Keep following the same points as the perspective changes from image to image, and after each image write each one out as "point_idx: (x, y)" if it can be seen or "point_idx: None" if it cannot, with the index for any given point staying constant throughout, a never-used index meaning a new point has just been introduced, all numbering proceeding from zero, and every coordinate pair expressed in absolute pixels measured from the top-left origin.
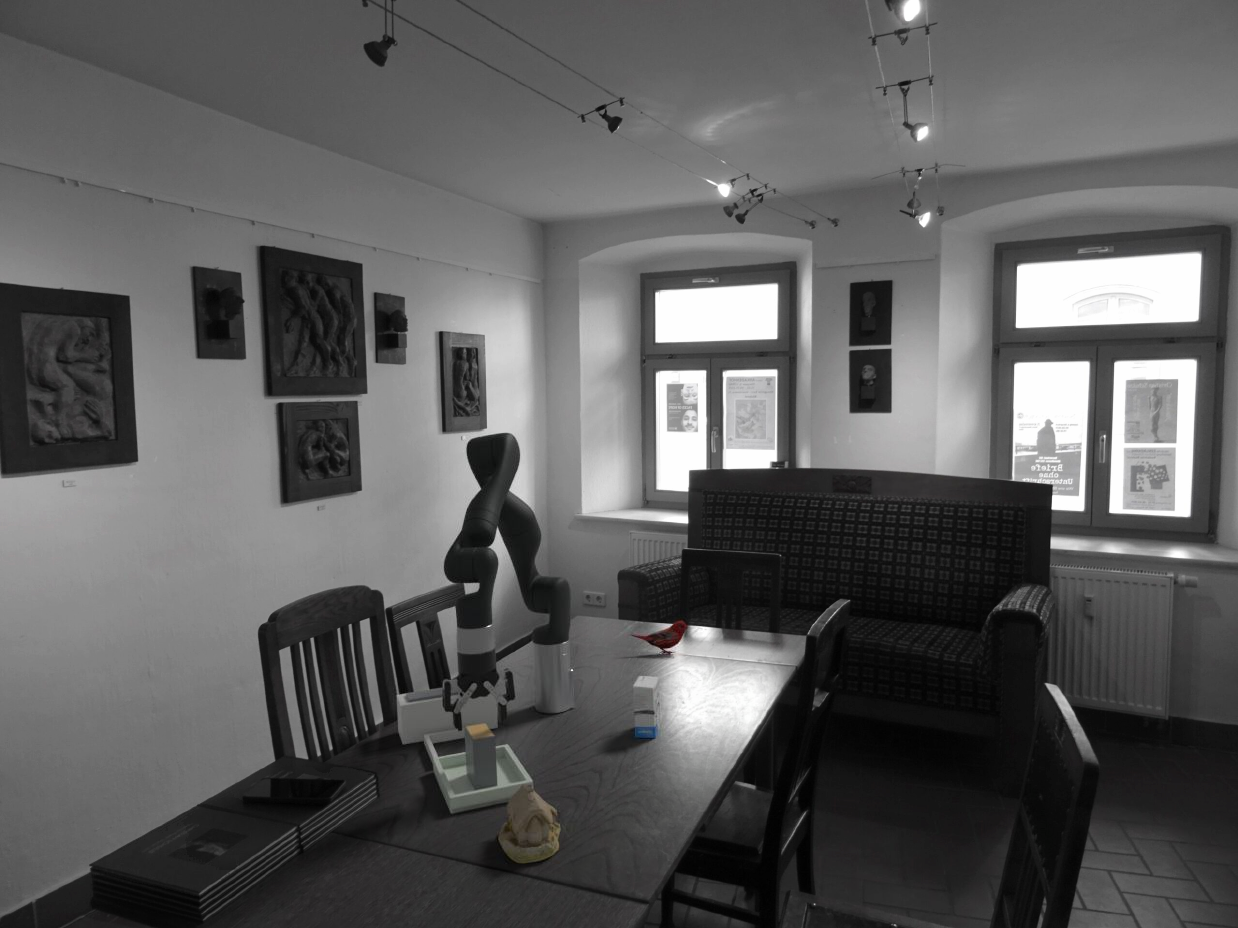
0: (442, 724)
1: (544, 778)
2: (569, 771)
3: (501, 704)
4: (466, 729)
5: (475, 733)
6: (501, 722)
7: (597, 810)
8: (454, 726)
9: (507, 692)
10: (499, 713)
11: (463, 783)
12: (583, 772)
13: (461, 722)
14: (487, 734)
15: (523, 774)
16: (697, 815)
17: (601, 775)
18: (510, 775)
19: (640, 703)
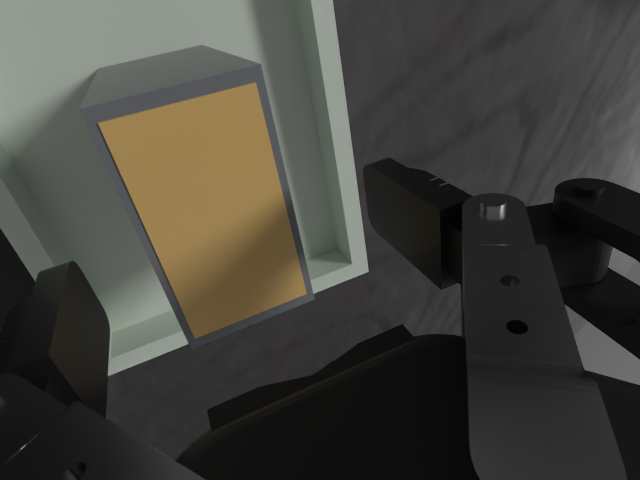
0: None
1: (392, 137)
2: (467, 100)
3: (456, 273)
4: (114, 177)
5: (198, 262)
6: (375, 225)
7: (459, 316)
8: (24, 299)
9: (586, 225)
10: (396, 221)
11: (104, 164)
12: (497, 117)
13: (105, 367)
14: (274, 279)
15: (347, 222)
16: (580, 328)
17: (526, 147)
18: (293, 124)
19: None
